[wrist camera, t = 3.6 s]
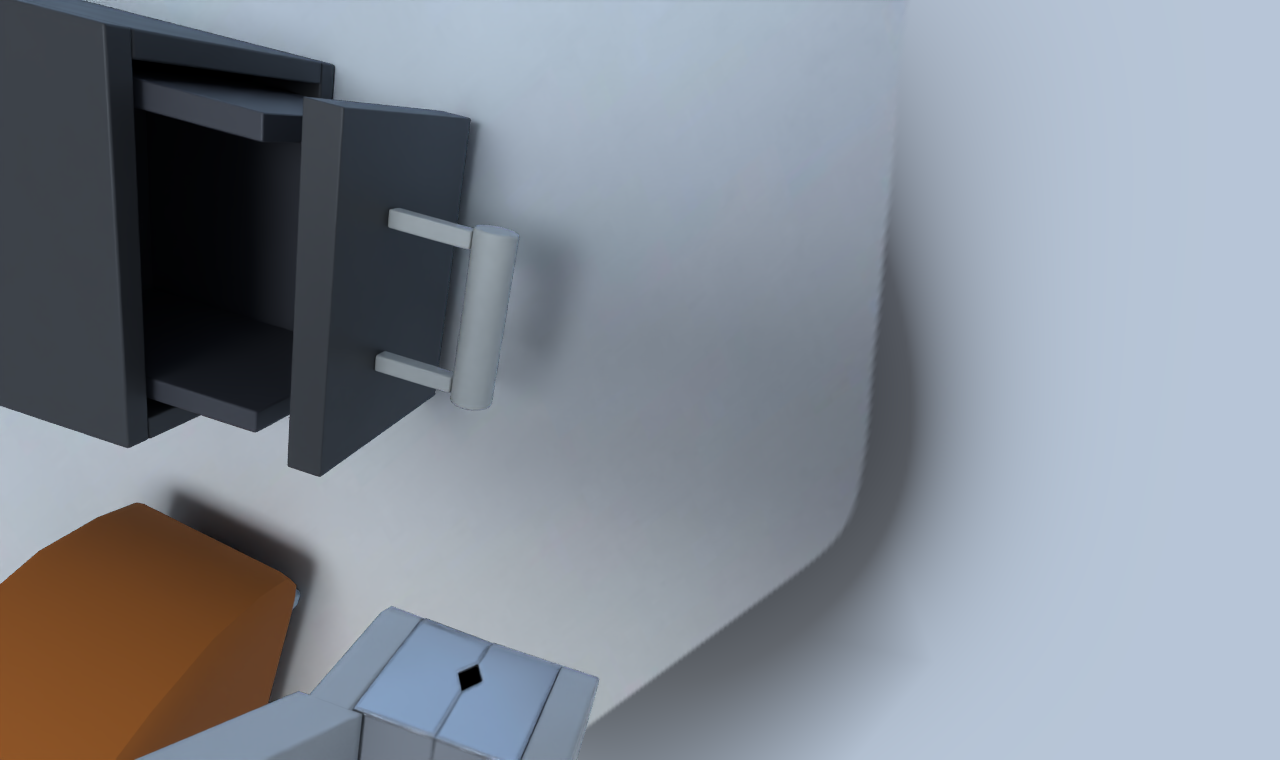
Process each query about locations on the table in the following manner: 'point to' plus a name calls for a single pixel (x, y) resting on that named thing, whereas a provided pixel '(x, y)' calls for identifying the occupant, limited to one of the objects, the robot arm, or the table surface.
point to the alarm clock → (134, 639)
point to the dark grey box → (90, 204)
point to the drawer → (307, 260)
